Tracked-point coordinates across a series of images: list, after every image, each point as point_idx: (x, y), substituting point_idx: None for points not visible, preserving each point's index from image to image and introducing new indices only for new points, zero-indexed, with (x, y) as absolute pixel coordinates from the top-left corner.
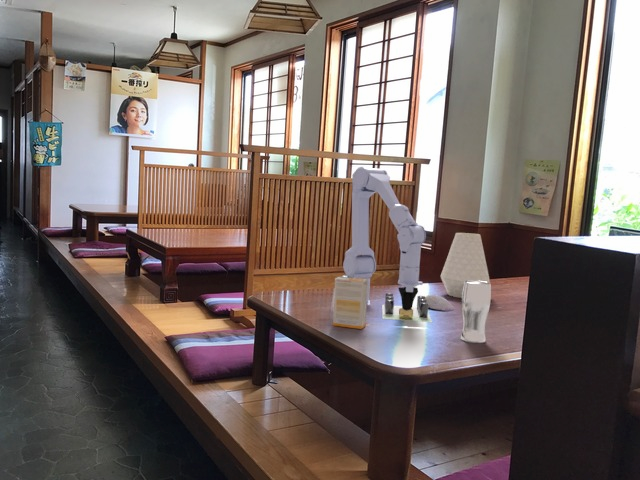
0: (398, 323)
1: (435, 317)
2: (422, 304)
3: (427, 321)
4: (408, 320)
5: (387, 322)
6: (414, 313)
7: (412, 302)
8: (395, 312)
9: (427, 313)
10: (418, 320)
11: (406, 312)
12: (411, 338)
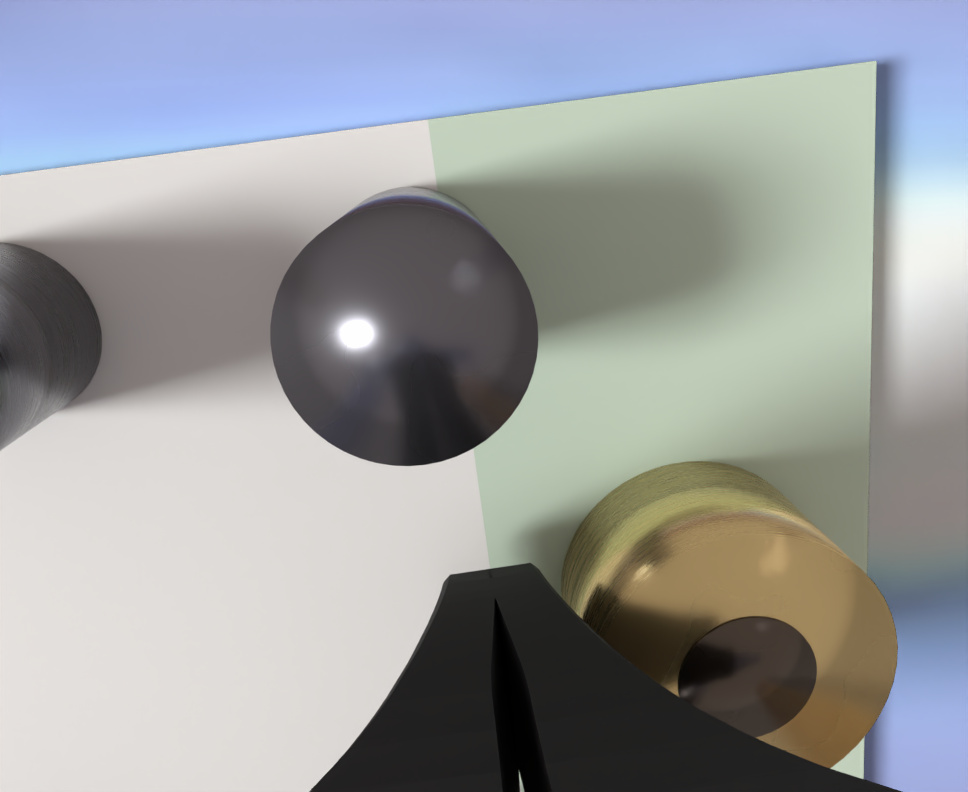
0: (941, 630)
1: (124, 6)
2: (526, 383)
3: (825, 167)
4: (859, 516)
5: (923, 773)
6: (186, 472)
7: (631, 671)
8: (302, 783)
9: (440, 196)
10: (802, 347)
11: (879, 636)
12: None
